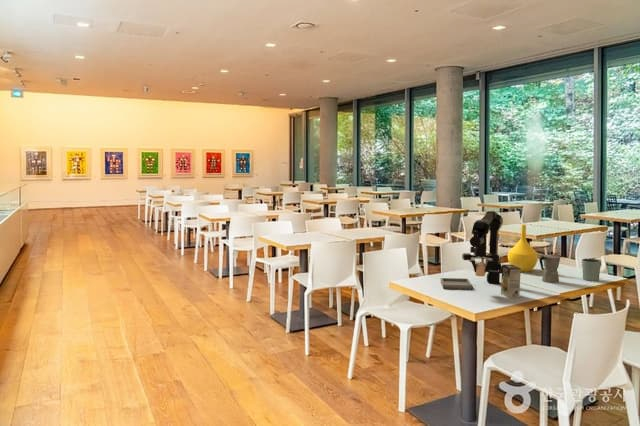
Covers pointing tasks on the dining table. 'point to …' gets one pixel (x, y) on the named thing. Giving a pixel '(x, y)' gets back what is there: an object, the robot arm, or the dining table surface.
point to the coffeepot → (550, 268)
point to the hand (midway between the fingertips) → (480, 272)
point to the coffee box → (510, 281)
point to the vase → (523, 254)
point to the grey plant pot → (591, 269)
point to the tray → (456, 283)
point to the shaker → (480, 269)
